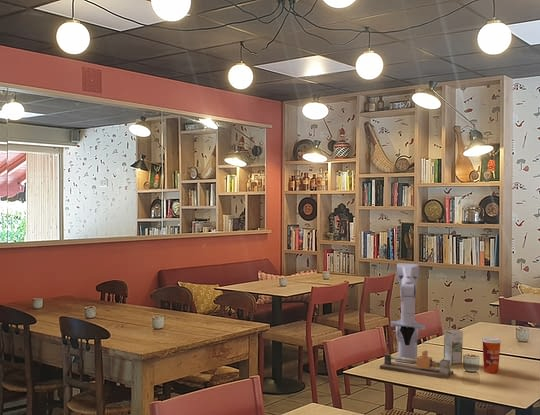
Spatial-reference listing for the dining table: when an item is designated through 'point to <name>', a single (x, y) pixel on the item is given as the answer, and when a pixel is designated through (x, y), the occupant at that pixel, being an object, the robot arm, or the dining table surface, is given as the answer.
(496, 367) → the paper cup
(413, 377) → the dining table surface
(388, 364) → the grey slider rail
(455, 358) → the syrup box
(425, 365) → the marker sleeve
